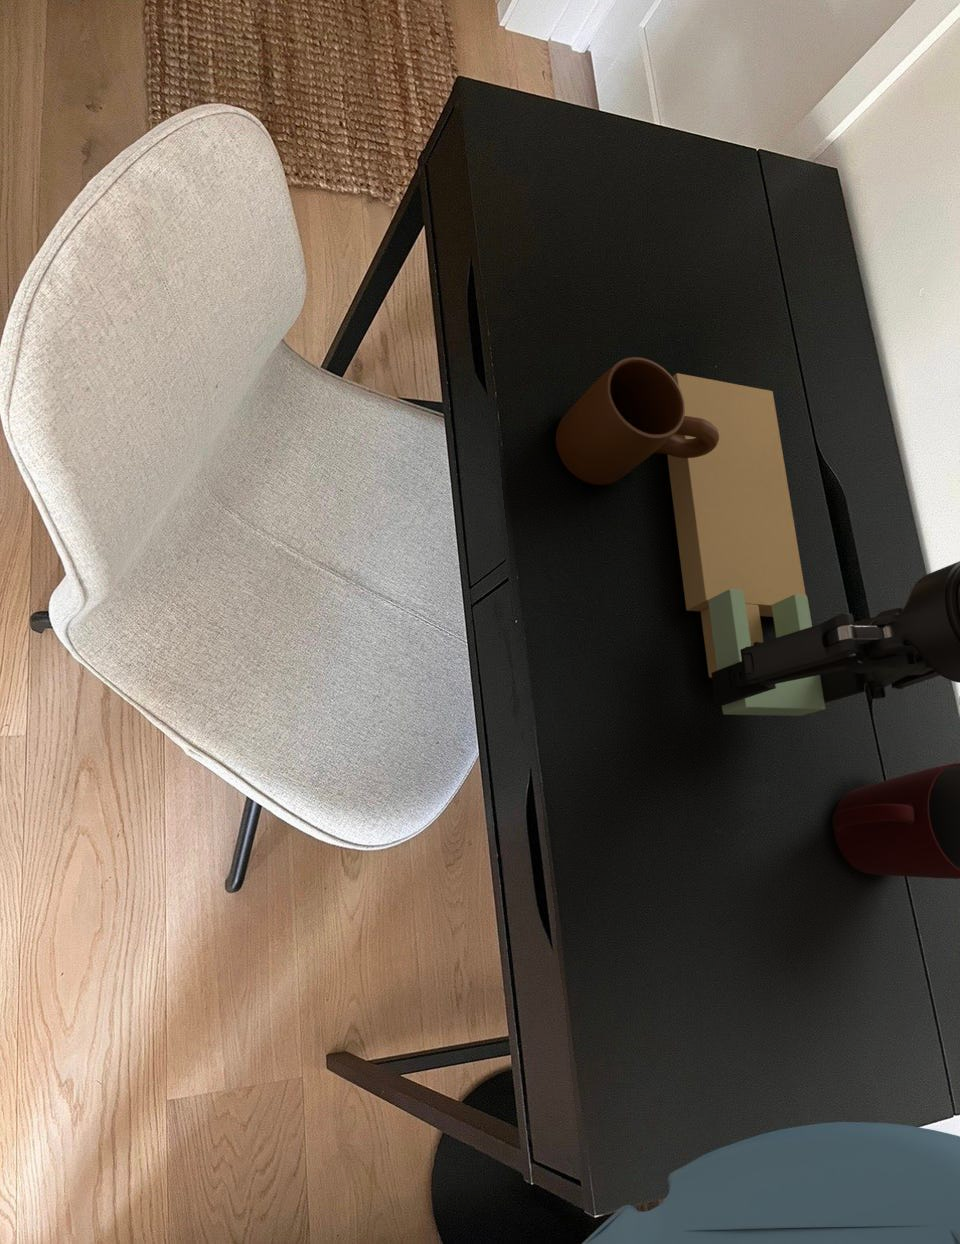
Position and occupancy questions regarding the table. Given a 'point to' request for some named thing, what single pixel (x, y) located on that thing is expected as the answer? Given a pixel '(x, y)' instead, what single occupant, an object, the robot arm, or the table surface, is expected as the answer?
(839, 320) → the table surface
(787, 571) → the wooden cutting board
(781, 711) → the green block
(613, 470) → the mug
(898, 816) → the mug
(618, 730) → the table surface
